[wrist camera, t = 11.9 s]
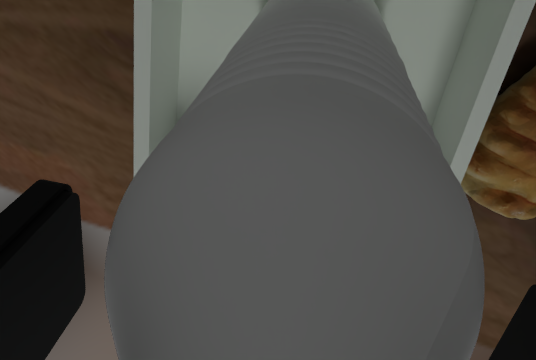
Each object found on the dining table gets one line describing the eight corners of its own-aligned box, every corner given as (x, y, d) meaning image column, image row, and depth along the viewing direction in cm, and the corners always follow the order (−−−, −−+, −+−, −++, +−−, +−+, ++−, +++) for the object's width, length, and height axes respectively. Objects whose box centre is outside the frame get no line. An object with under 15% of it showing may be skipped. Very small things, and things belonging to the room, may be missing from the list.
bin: (528, -117, 22) (588, -127, 17) (410, 211, 31) (425, 269, 26) (180, -174, 23) (134, -200, 17) (166, 165, 32) (133, 213, 27)
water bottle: (252, -23, 24) (-367, 451, 3) (380, -39, 23) (940, 529, 2) (272, 132, 29) (81, 804, 7) (382, 124, 28) (558, 893, 6)
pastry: (519, 30, 25) (548, 47, 22) (631, 73, 26) (676, 97, 22) (433, 172, 30) (445, 204, 27) (529, 207, 30) (553, 242, 27)
